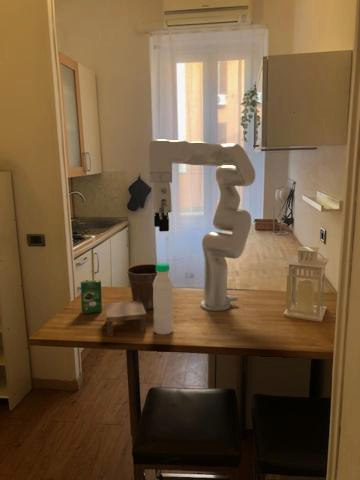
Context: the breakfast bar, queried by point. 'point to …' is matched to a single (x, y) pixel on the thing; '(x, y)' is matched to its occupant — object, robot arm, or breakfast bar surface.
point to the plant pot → (142, 283)
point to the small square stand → (125, 313)
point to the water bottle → (163, 300)
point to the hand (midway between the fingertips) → (161, 228)
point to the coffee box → (91, 296)
